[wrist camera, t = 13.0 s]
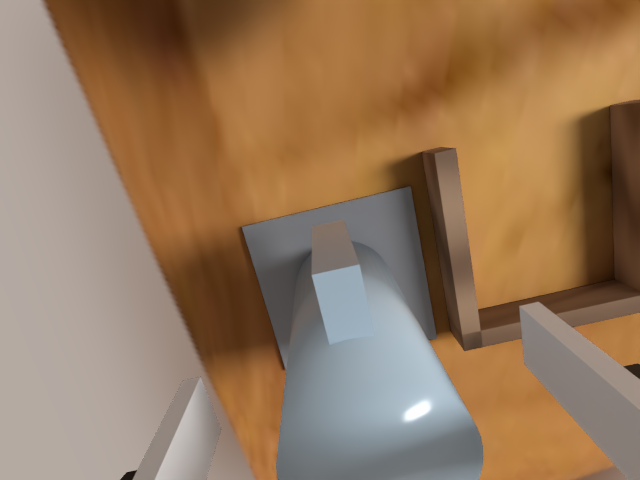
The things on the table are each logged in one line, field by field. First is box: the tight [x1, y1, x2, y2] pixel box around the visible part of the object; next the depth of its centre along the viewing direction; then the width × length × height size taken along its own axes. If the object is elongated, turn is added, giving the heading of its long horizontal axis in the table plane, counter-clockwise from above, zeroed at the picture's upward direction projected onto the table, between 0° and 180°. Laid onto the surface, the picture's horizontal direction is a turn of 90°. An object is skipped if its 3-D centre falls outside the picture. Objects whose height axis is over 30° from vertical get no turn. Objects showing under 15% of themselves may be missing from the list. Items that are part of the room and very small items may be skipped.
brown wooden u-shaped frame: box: [422, 100, 640, 351], centre depth 23 cm, size 13×13×2 cm
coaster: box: [242, 186, 437, 370], centre depth 25 cm, size 11×11×1 cm
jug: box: [276, 220, 483, 480], centre depth 18 cm, size 6×9×14 cm
